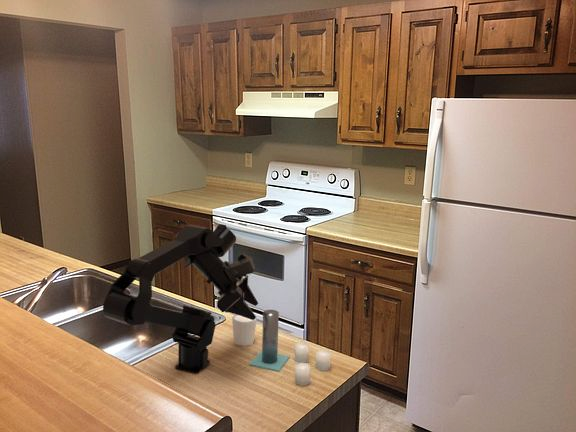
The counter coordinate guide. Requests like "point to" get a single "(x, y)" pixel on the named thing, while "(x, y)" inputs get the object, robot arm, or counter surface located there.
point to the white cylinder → (243, 330)
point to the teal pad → (275, 366)
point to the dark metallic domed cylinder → (270, 336)
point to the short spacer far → (323, 360)
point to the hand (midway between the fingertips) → (255, 311)
